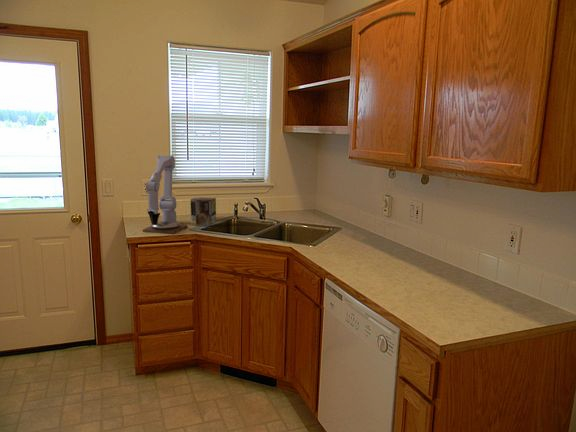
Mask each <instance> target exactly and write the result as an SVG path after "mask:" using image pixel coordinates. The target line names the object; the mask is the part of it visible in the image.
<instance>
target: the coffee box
mask: <svg viewBox="0 0 576 432" xmlns="http://www.w3.org/2000/svg"><path fill="white" fill-rule="evenodd" d="M195 206H196V220H195V226H196V227H210V226H212V225H213V221H212V207H211V200H197V201H195Z"/></svg>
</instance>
